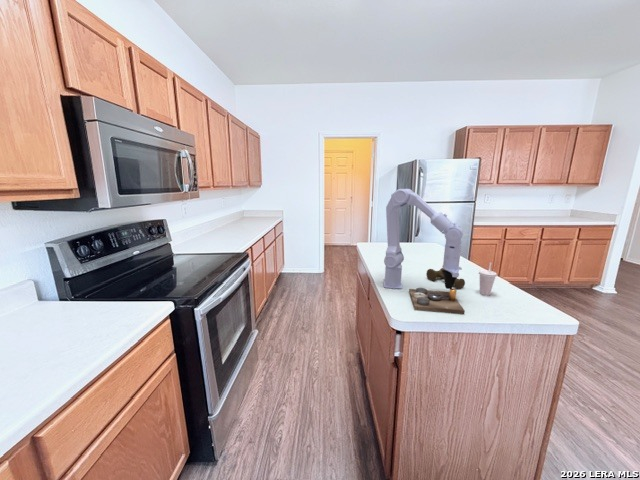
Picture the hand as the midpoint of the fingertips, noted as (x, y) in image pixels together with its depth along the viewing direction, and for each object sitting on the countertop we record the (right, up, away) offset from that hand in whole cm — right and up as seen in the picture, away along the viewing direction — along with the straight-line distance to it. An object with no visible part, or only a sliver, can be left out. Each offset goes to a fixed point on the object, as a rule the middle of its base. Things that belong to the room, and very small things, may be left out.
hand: (448, 288), depth 107 cm
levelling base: (-8, -5, -4) cm, 10 cm away
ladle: (-5, -3, -5) cm, 8 cm away
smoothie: (+17, -3, +4) cm, 18 cm away
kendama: (+6, -1, +18) cm, 19 cm away
